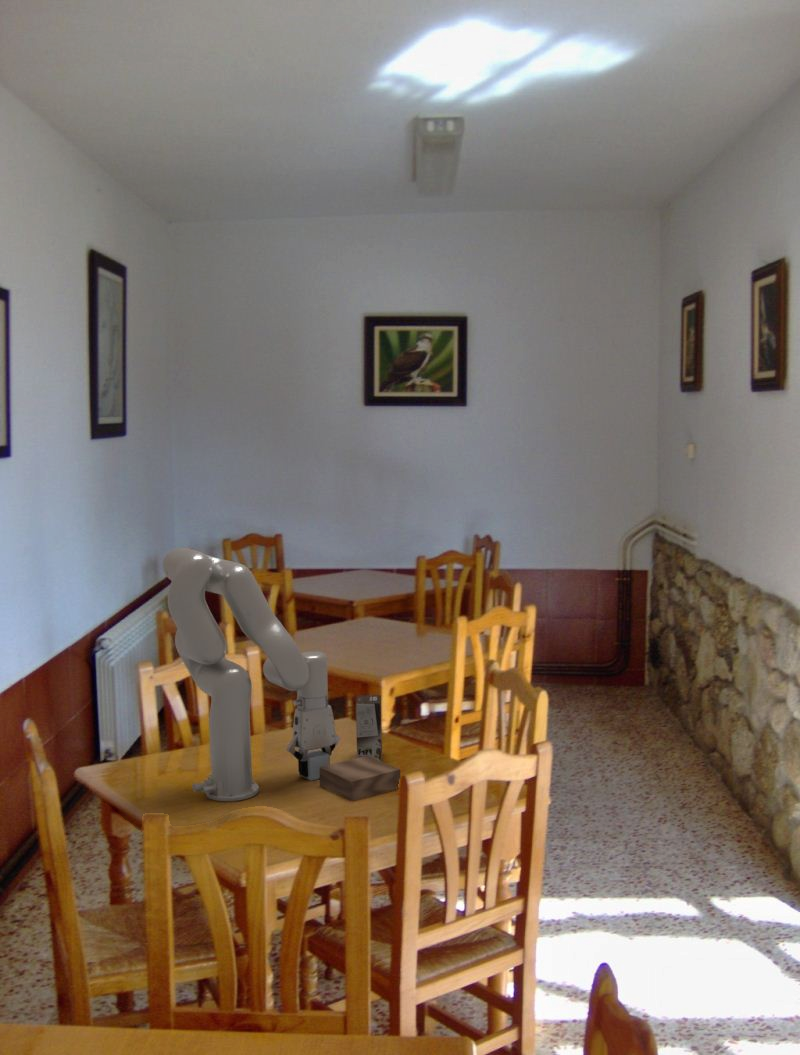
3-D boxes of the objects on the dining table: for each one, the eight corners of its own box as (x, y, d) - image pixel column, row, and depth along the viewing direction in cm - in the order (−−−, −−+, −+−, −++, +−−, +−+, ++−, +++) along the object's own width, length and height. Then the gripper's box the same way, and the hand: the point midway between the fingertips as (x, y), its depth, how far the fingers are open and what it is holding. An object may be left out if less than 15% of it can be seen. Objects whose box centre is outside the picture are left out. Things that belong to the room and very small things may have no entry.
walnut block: (352, 802, 247) (351, 781, 247) (320, 787, 258) (319, 767, 258) (400, 789, 255) (400, 769, 255) (367, 775, 267) (367, 755, 266)
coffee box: (381, 764, 273) (380, 703, 272) (356, 765, 274) (355, 703, 272) (383, 753, 282) (381, 694, 281) (358, 754, 283) (357, 694, 281)
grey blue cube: (310, 780, 262) (310, 758, 261) (299, 775, 266) (298, 753, 266) (329, 776, 265) (329, 754, 265) (317, 770, 270) (317, 749, 269)
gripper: (290, 710, 256) (292, 784, 258) (350, 699, 266) (351, 770, 268) (274, 704, 262) (276, 776, 264) (333, 693, 272) (335, 762, 274)
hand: (314, 772), depth 266 cm, fingers closed on grey blue cube, 5 cm apart
